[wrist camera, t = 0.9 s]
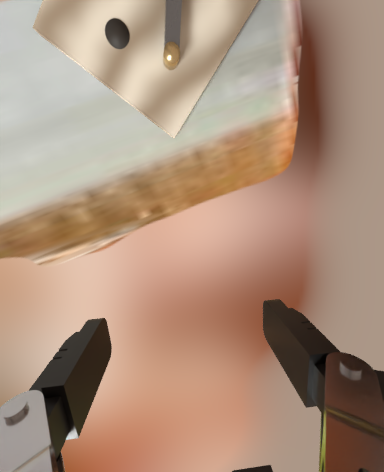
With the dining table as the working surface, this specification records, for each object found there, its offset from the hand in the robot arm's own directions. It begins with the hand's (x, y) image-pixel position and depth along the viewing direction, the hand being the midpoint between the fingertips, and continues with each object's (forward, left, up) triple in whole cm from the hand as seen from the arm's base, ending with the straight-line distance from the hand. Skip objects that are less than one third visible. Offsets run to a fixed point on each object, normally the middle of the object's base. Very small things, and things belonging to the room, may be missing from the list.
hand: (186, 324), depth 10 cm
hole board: (-13, +19, -25) cm, 34 cm away
